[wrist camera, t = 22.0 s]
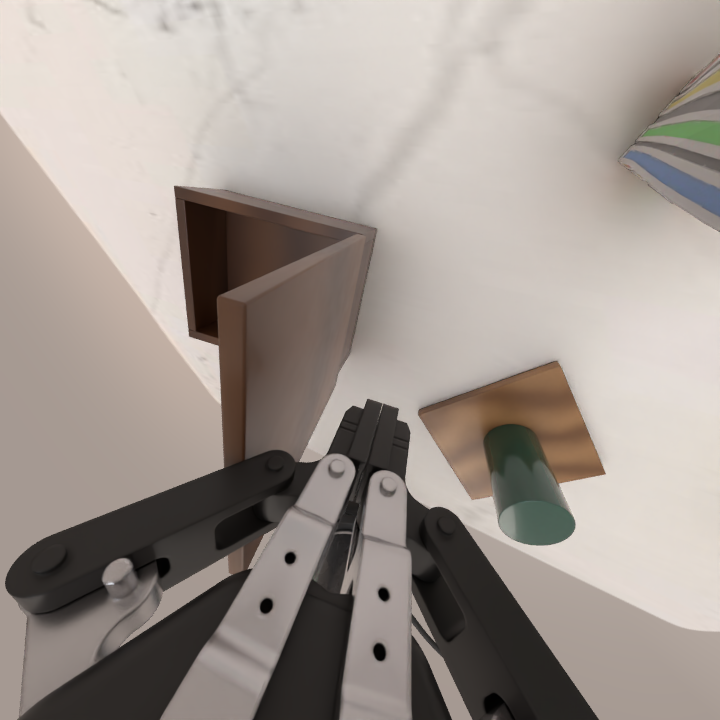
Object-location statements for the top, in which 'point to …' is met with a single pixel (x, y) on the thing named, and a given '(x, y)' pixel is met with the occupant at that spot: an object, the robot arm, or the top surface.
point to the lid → (283, 356)
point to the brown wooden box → (250, 249)
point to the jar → (525, 487)
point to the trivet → (514, 406)
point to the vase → (685, 148)
